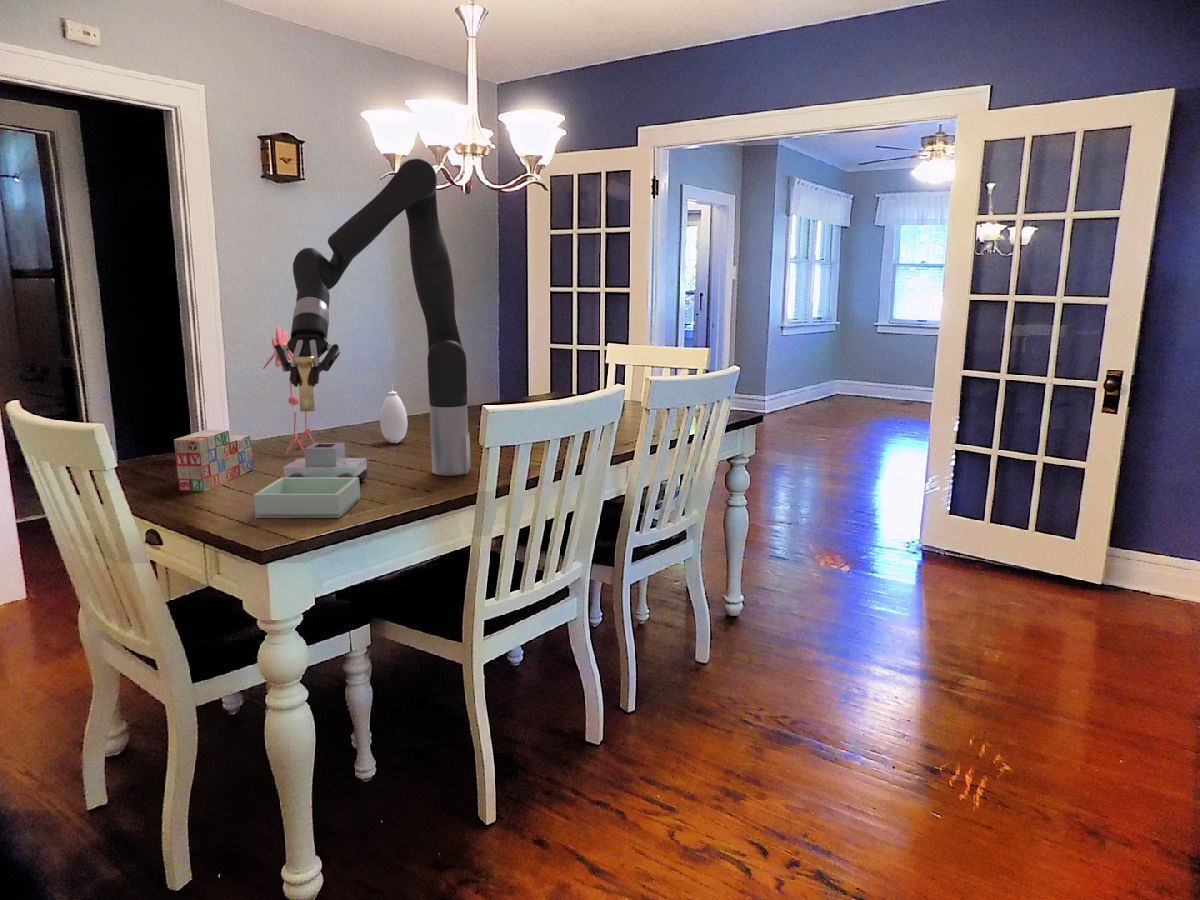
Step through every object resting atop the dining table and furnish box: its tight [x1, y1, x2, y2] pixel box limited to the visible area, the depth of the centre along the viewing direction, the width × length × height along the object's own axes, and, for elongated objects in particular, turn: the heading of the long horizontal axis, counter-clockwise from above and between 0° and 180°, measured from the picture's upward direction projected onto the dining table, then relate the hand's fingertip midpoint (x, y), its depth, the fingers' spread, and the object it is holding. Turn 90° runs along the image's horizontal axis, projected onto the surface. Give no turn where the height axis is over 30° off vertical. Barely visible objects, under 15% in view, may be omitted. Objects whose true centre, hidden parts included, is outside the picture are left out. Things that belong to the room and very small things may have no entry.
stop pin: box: [293, 356, 316, 413], centre depth 173 cm, size 4×4×12 cm
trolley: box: [282, 442, 369, 483], centre depth 188 cm, size 16×13×10 cm
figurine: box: [262, 326, 316, 457], centre depth 226 cm, size 15×26×35 cm, turn 0°
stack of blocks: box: [173, 429, 254, 492], centre depth 195 cm, size 21×6×12 cm, turn 173°
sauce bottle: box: [379, 383, 408, 444], centre depth 240 cm, size 8×8×18 cm
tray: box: [253, 476, 361, 519], centre depth 171 cm, size 17×15×5 cm
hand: (304, 383), depth 171 cm, fingers closed on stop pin, 3 cm apart
